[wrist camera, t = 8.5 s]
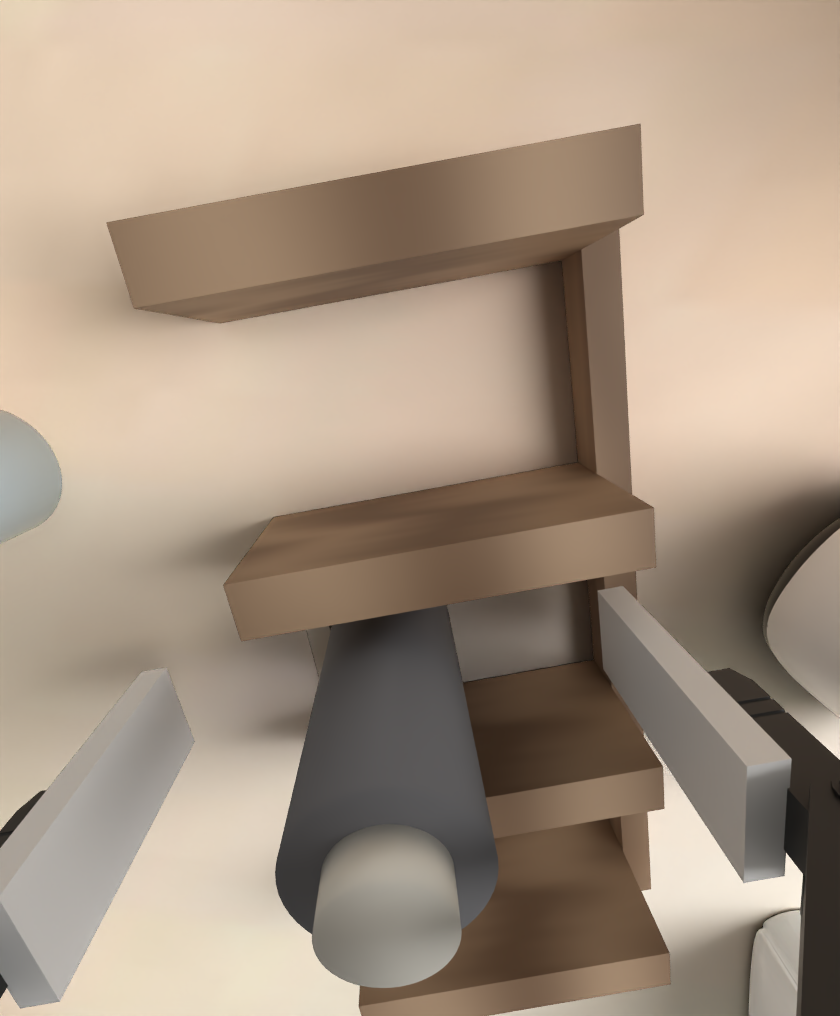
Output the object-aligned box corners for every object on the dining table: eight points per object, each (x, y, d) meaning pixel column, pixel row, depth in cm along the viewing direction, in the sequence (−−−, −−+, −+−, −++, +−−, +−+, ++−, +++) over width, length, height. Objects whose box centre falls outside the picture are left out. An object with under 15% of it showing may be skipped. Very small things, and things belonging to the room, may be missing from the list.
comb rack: (378, 895, 21) (372, 1050, 17) (196, 237, 14) (91, 176, 9) (632, 850, 21) (701, 993, 17) (590, 164, 14) (694, 64, 9)
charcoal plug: (347, 678, 18) (295, 1035, 9) (323, 579, 17) (230, 868, 7) (456, 659, 18) (522, 997, 9) (439, 559, 17) (494, 823, 7)
